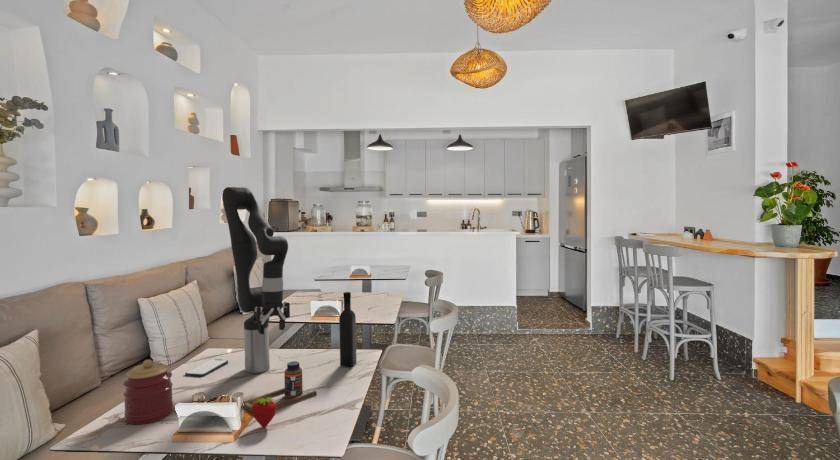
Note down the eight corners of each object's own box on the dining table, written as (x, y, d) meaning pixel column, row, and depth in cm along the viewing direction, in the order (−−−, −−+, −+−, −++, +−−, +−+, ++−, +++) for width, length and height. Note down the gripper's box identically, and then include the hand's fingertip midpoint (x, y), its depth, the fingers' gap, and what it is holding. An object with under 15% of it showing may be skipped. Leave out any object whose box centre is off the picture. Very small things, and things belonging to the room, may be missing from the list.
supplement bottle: (297, 399, 143) (296, 366, 143) (281, 398, 144) (280, 365, 144) (305, 392, 149) (305, 360, 148) (290, 391, 150) (289, 359, 150)
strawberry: (260, 420, 129) (259, 387, 129) (281, 423, 127) (280, 391, 126) (246, 429, 123) (245, 396, 123) (268, 433, 121) (267, 399, 121)
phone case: (203, 378, 164) (229, 363, 180) (203, 374, 164) (229, 359, 180) (183, 377, 166) (211, 362, 181) (183, 373, 166) (211, 358, 181)
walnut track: (242, 405, 139) (242, 401, 139) (299, 386, 154) (299, 382, 154) (258, 416, 131) (258, 412, 131) (316, 394, 147) (316, 391, 147)
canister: (143, 405, 140) (141, 352, 139) (182, 405, 140) (180, 352, 139) (113, 425, 127) (111, 367, 126) (156, 425, 127) (154, 367, 126)
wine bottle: (344, 361, 179) (343, 291, 178) (357, 362, 178) (355, 291, 177) (339, 366, 174) (337, 293, 173) (352, 367, 173) (351, 294, 171)
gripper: (282, 286, 168) (281, 326, 169) (249, 290, 157) (248, 333, 157) (294, 288, 164) (293, 330, 164) (261, 292, 152) (260, 337, 153)
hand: (271, 331), depth 161 cm, fingers open, 8 cm apart
